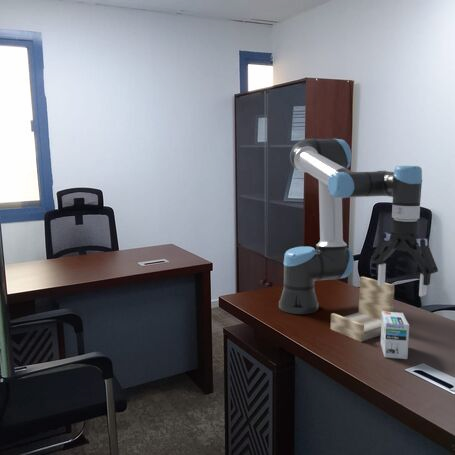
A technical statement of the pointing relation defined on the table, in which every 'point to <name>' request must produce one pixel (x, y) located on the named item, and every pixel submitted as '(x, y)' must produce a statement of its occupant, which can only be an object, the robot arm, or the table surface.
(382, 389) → the table surface
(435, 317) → the table surface
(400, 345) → the light bulb box
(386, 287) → the board
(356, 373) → the table surface
